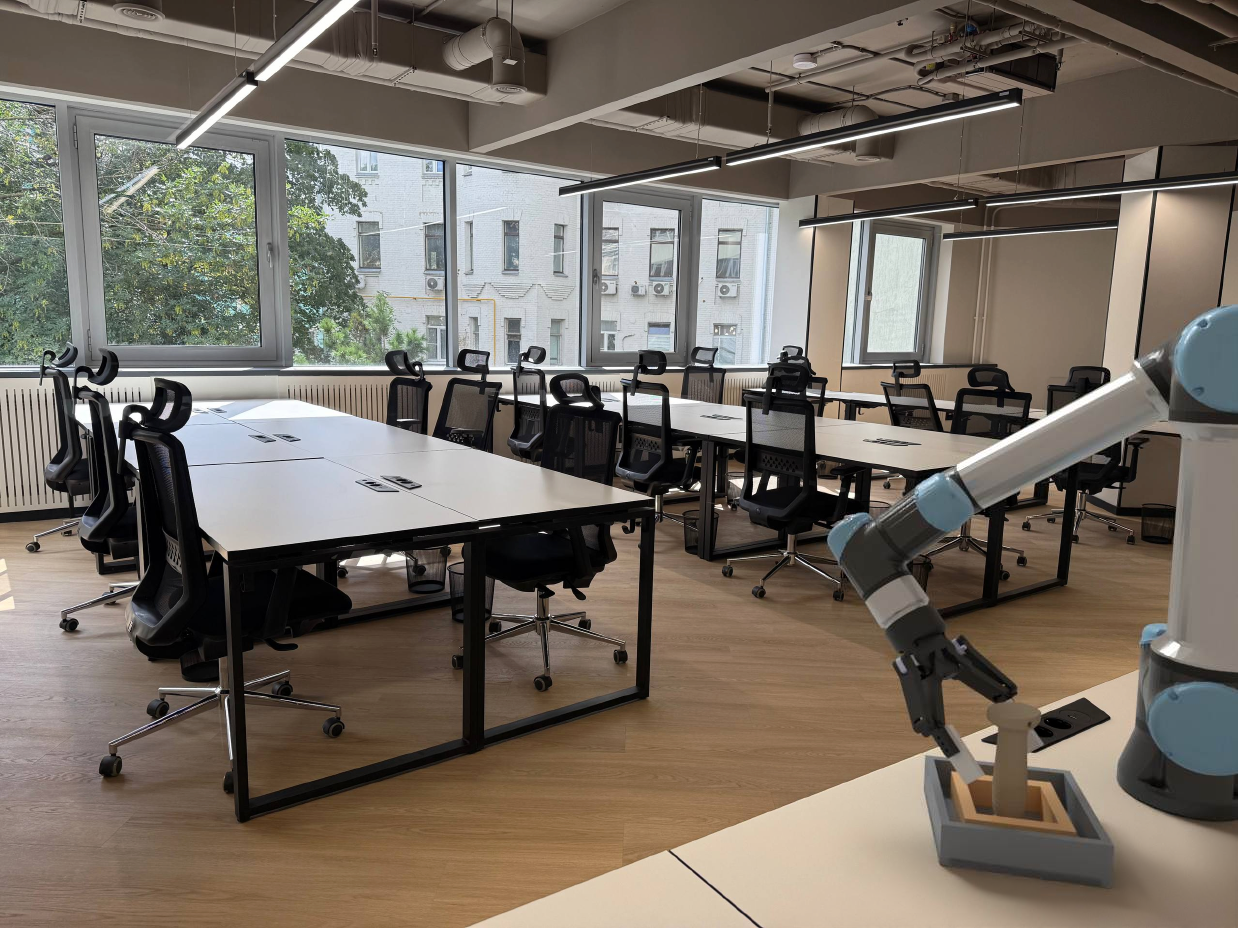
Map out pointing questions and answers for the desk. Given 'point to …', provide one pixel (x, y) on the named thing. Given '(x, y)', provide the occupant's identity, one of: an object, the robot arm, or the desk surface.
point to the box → (1017, 826)
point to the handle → (1011, 756)
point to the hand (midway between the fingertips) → (1006, 764)
